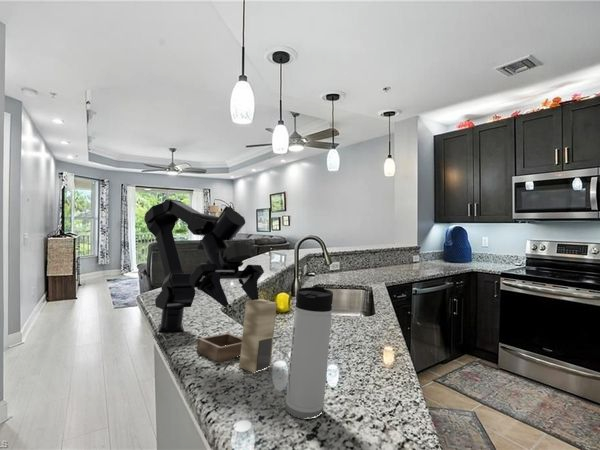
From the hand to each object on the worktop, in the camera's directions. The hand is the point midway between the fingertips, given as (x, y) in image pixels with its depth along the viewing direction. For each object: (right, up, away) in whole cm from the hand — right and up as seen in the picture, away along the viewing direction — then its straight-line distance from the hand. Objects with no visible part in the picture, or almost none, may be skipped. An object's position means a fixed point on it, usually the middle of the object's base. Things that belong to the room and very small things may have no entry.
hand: (242, 304), depth 74 cm
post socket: (-5, -12, +2) cm, 13 cm away
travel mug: (+14, -12, -21) cm, 28 cm away
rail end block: (+3, -12, -5) cm, 14 cm away
